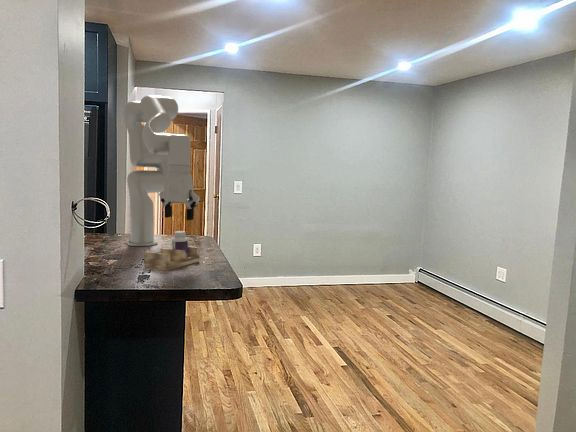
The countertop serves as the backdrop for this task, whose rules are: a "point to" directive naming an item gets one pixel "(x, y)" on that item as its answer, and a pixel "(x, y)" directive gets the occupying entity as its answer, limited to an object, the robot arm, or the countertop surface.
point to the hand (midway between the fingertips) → (179, 218)
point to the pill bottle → (180, 242)
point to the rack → (171, 258)
